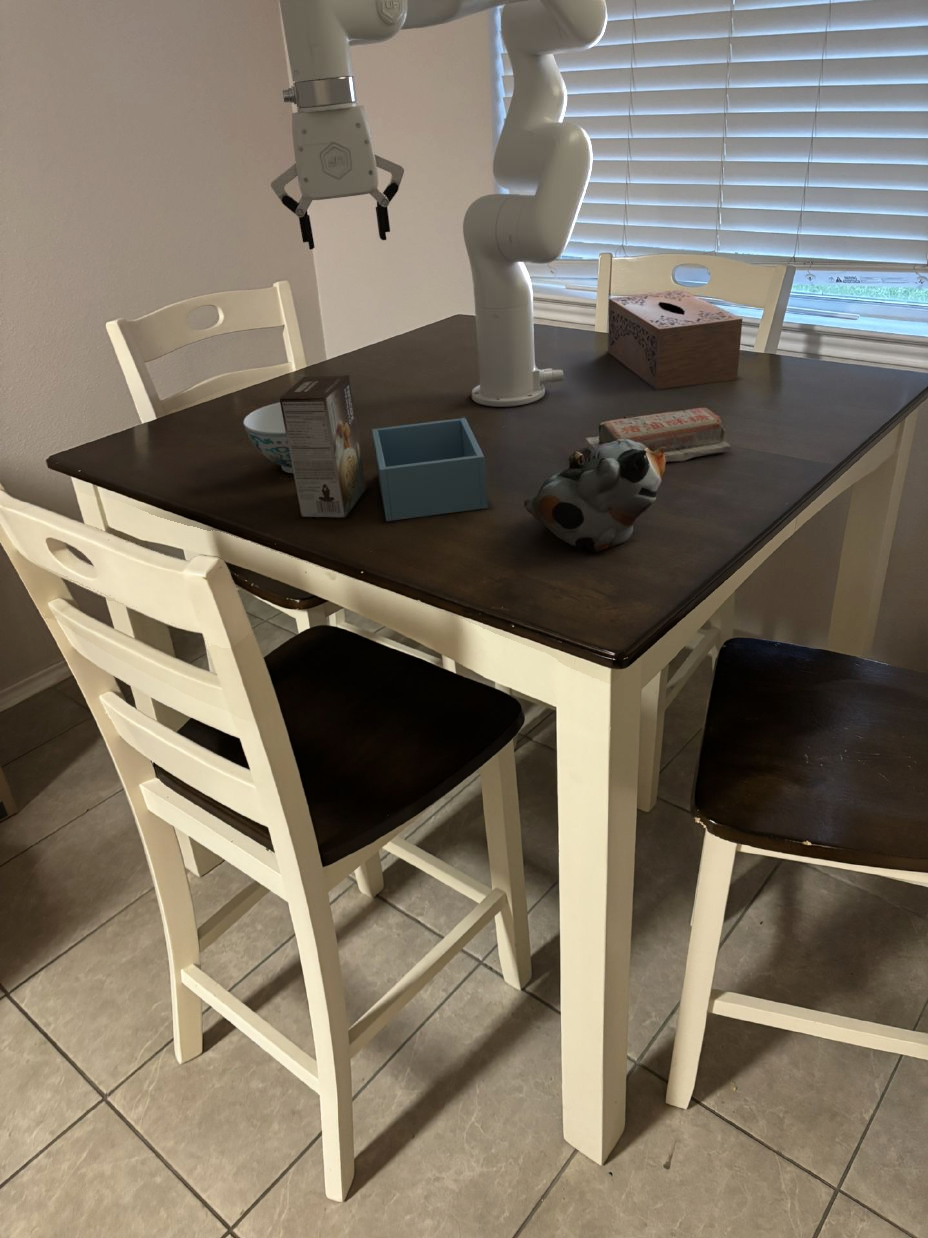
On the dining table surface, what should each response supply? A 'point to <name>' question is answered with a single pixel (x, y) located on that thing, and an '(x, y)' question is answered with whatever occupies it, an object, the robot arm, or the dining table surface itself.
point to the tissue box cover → (674, 338)
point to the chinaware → (269, 434)
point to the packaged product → (668, 433)
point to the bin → (429, 469)
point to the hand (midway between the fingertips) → (347, 242)
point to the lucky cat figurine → (600, 494)
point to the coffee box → (323, 445)
